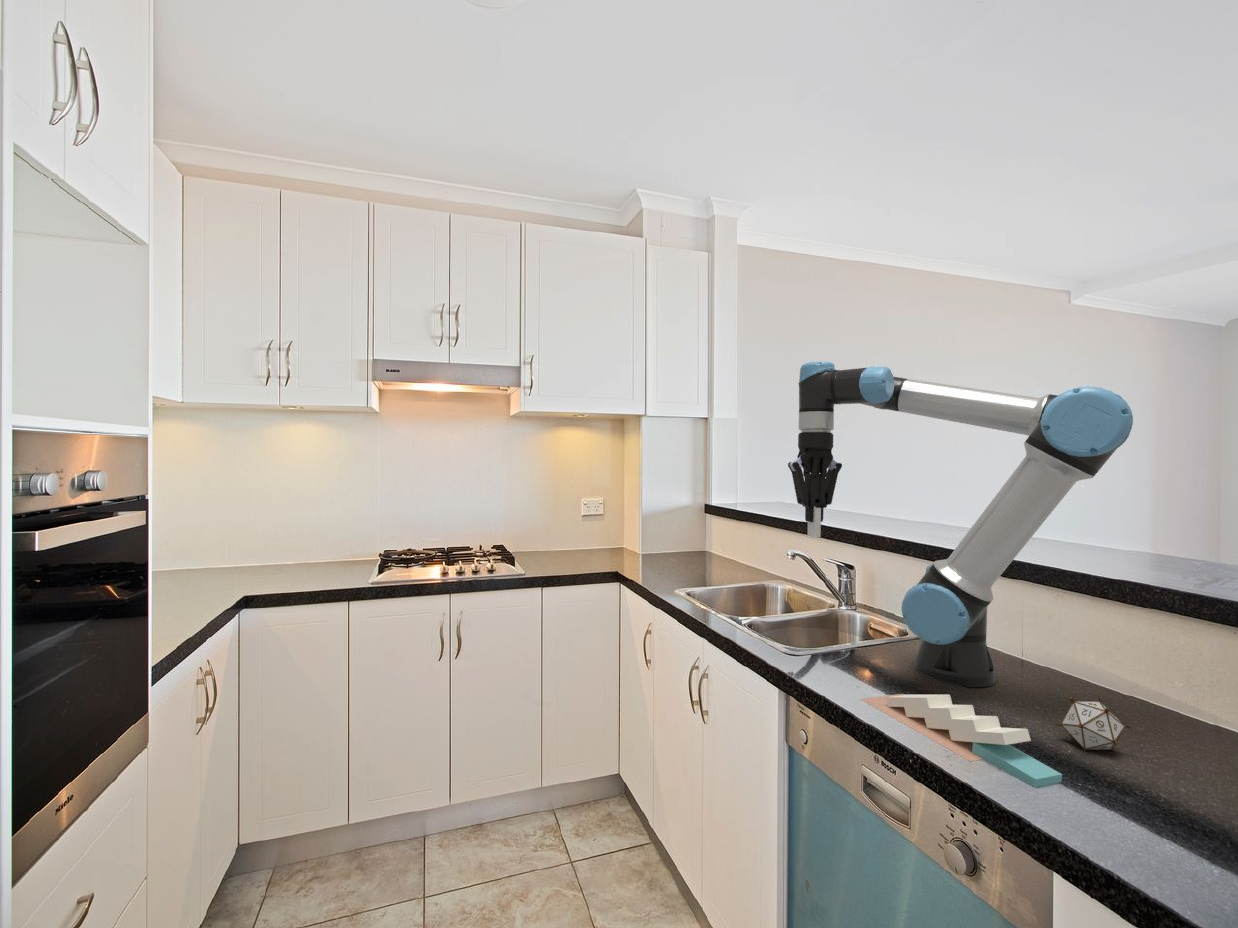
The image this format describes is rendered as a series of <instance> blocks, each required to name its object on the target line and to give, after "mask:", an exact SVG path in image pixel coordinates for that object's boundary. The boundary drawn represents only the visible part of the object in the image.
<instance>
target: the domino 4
mask: <svg viewBox="0 0 1238 928" xmlns="http://www.w3.org/2000/svg"><path fill="white" fill-rule="evenodd" d="M949 733H950V737H951V740H953V741H965V742H976V743H988V744H1000V745H1008V744H1009V745H1015V744H1019V743H1024V742H1025V743H1026V742H1031V741H1032V739H1031V736H1030V733H1029V729H1028V728H1018V727H1017V728H1016V727H1014V728H1013V727H1001V726H1000V728H994V729H987V730H981V731H964V730H949Z"/></svg>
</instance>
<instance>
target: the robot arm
mask: <svg viewBox="0 0 1238 928" xmlns="http://www.w3.org/2000/svg"><path fill="white" fill-rule="evenodd" d="M835 367H836V366H835V364H834V362H830V361H810V362H806V363H803V364H802V365H801V366H800V368H799V369H800V370H799V380H798V389H799V390H798V430H799V431H800V432H799V433H798V436H797V437H798V439H797V441H798V442H797V447H798V450H799V451H798V454H797V458H796V459H795V460H793V461H789V462H788V463H787V466H788V468H789V470H790V472H791V476H792V481H793V485H794V491H795V497H796V502H797V504H798V505H802V507H804V509H805V512H804V513H805V515H804V517H805V522H807V537H812V538H821V532H822V530H821V526H822V524H821V523H822V522H824V521H823V520H824V508H825V509H826V508H827V507H828V505H832V503H833V498H834V493H835V489H836V483H837V480H838V476H839V472H840V471H841V470H842V467H843V464H842V463H841V462H837V461H836V460H835V459H834V456H833V453H832V451H833V448H834V434H833V432H832V431H833V430H834V429H835V428H834V427H835V425H834V424H835V423H834V422H835V420H834V419H835V418H834V417H835V415H834V413H835V408H834V407H835V405H852V404H853V405H855V404H856V405H857V404H861V405H865V406H869V407H873V408H875V409H879V410H889V411H893V412H901V413H905V414H911V415H916V416H922V417H927V418H931V419H937V420H944V421H947V422H953V423H959V424H965V425H970V426H975V427H980V428H986V429H992V430H998V431H1003V432H1008V433H1014V434H1018V435H1025V436H1028V437H1027V438H1026V440H1025V441H1024V442H1023V445H1024V450H1025V457H1024V458H1023V459H1022V461H1021V462H1020V463H1019V464H1018V466H1017V467H1016V469H1015V470H1014V471H1013V473H1011V475H1010V477H1008V479H1007V480H1006V481H1005V483H1004V484H1003V485H1002V487H1001V488H1000V490H998V492H997V493H996V495H995V496H994V497H993V498H992V500H991V501H990V502H989V504H988V505H987V506H986V507H985V509H984V510H983V512H982V513H981V514H980V516H979V517H978V518H977V520H976V521H975V522H974V524H972V526H971V527H970V529H969V530H968V531H967V532H966V534H965V536H963V538H962V539H961V540H960V542H959V543H958V544H957V546H956V547H955V548H954V550H953V551H952V553H950V554H949V557H948V558H946V559H945V558H944V559H940V560H935V561H934V562H933V563H932V564H931V565H927V567H926V568H925V573H924V574H923V576H922V577H921V579H920V580H919V581H918V583H917V584H915V585H914V586H912V587H911V588H909V590H907V592H906V593H905V595H904V597H903V599H902V602H901V614H902V618H903V620H904V623H905V624H906V626H907V628H908V629H909V631H911V633H913V634H914V635H915V636H916V637H918V638H919V639H920V640H921V642H920V644H919V646H918V649H917V652H916V654H915V656H914V665H913V666H914V668H915V670H916V671H918V673H920V674H922V675H924V676H927V677H929V678H931V679H934V680H938V681H941V682H946V683H950V684H956V685H959V686H962V687H967V688H985V687H991V686H993V685H994V684H995V683H996V670H995V669H996V668H995V666H994V663H993V660H992V657H991V654H990V650H989V647H988V644H987V632H988V631H987V629H988V628H987V626H988V625H987V623H988V607H989V605H990V604H991V603H992V601H993V600H994V595H993V591H992V587H993V586H994V584H995V583H996V581H997V580H998V579H999V578H1000V576H1002V574H1003V573H1004V572H1005V571H1006V570H1007V568H1008V567H1009V565H1010V564H1011V563H1012V562H1013V561H1014V560H1015V558H1016V557H1017V556H1018V555H1019V553H1020V552H1021V551H1022V549H1024V547H1025V546H1026V545H1027V543H1029V541H1030V540H1031V539H1032V537H1033V536H1034V535H1035V533H1037V531H1038V530H1039V529H1040V528H1041V526H1042V525H1043V524H1044V522H1045V521H1046V520H1047V519H1048V517H1049V516H1050V515H1051V514H1052V512H1053V511H1054V510H1055V509H1056V507H1057V506H1058V505H1059V504H1060V503H1061V502H1062V500H1063V499H1064V497H1066V495H1067V494H1068V493H1069V492H1070V491H1071V489H1072V488H1073V487H1074V485H1075V484H1076V483H1077V482H1079V481H1083V480H1090V479H1093V478H1094V477H1095V475H1097V474H1098V472H1099V471H1100V470H1101V469H1102V467H1104V465H1105V464H1106V463H1107V461H1108V460H1109V459H1110V458H1111V457H1112V456H1113V454H1114V453H1115V452H1116V450H1118V449H1119V448H1120V447H1121V446H1122V445H1123V444H1124V443H1125V442H1126V441H1127V440H1128V438H1129V437H1130V434H1131V432H1132V429H1133V425H1134V416H1133V412H1132V411H1133V410H1132V409H1131V407H1130V405H1129V404H1128V402H1127V401H1126V400H1125V399H1124V398H1123V397H1122V396H1121V395H1119V394H1117V393H1115V392H1114V391H1112V390H1107V389H1105V388H1103V387H1097V386H1079V387H1074V388H1071V389H1068V390H1065V391H1063V392H1062V393H1060V394H1058V395H1056V394H1049V393H1047V394H1046V395H1044V396H1042V397H1033V396H1029V395H1022V394H1014V393H1008V392H1007V393H1006V392H1002V391H1001V392H1000V391H994V390H987V389H986V390H985V389H979V388H975V387H974V388H972V387H966V386H960V385H959V386H958V385H953V384H952V385H951V384H945V383H938V382H931V381H924V380H918V379H912V378H904V377H898V376H894V374H893V372H892V370H891V369H890V368H889V367H887V366H874V365H873V366H868V367H861V368H859V367H858V368H849V369H836V368H835Z"/></svg>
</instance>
